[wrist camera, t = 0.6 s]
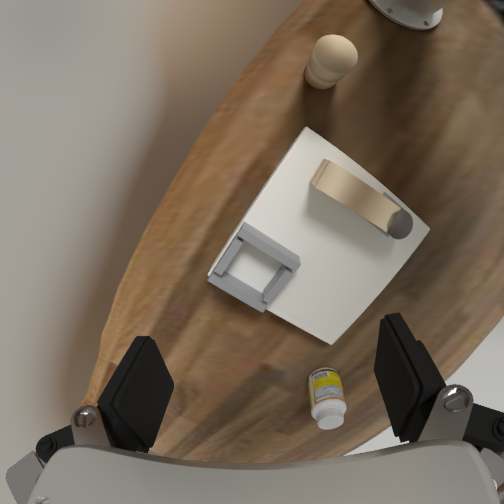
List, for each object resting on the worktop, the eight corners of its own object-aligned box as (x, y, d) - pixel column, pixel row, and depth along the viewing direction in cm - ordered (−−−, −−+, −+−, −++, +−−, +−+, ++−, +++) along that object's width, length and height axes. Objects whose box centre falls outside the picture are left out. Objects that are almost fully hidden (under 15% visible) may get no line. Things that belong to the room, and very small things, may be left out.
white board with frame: (303, 128, 31) (309, 125, 26) (420, 222, 34) (439, 235, 28) (212, 264, 38) (203, 284, 33) (328, 332, 41) (334, 356, 36)
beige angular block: (403, 211, 30) (418, 220, 26) (389, 233, 31) (402, 244, 28) (323, 157, 29) (331, 159, 25) (309, 182, 30) (314, 188, 26)
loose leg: (315, 54, 27) (328, 27, 19) (343, 72, 28) (365, 51, 19) (297, 77, 28) (306, 55, 20) (326, 96, 29) (344, 80, 21)
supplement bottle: (326, 390, 46) (333, 435, 36) (301, 381, 45) (304, 428, 36) (345, 371, 44) (356, 417, 34) (320, 361, 43) (327, 409, 34)
